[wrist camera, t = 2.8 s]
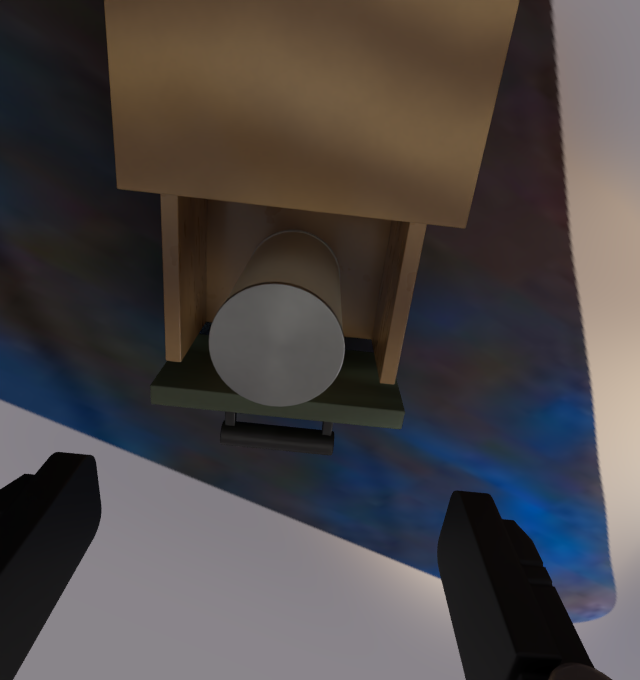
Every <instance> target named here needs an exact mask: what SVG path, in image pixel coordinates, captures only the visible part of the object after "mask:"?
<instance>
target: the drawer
mask: <svg viewBox="0 0 640 680" xmlns="http://www.w3.org/2000/svg"><path fill="white" fill-rule="evenodd" d="M160 197H161V227H162V257H163V287H164V317H165V347H166V361H167V362H166V363H165V365H164V366H163V368H162V369H161V371H160V372H159V374H158V375H157V376H156V378H155V379H154V381H153V382H152V384H151V385H150V390H151V403H152V404H158V405H168V406H178V407H187V408H197V409H207V410H217V411H225V421H224V422H223V424H222V428H221V434H220V443H221V444H222V445H232V446H242V447H252V448H262V449H272V450H282V451H292V452H302V453H312V454H322V455H332V453H333V447H334V432H333V431H332V427H333V422H334V423H344V424H354V425H363V426H373V427H383V428H393V429H401V428H402V423H403V418H404V414H405V411H404V407H403V403H402V399H401V395H400V391H399V387H398V383H397V380H396V374H397V369H398V365H399V360H400V355H401V350H402V345H403V340H404V335H405V330H406V325H407V320H408V315H409V310H410V305H411V300H412V295H413V290H414V285H415V280H416V275H417V270H418V265H419V260H420V255H421V251H422V246H423V241H424V236H425V231H426V226H427V224H421V223H412V222H403V221H394V220H386V219H377V218H368V217H359V216H351V215H342V214H333V213H324V212H316V211H307V210H298V209H289V208H281V207H272V206H263V205H254V204H245V203H237V202H228V201H219V200H210V199H202V198H193V197H184V196H175V195H167V194H160ZM284 230H301V231H306V232H309V233H311V234H313V235H316V236H317V237H319V238H320V239H322V240H323V241H324V242H325V243H326V244H327V245H328V246H329V247H330V248H331V249H332V251H333V252H334V254H335V256H336V258H337V261H338V263H339V268H340V294H341V311H342V328H343V334H344V336H345V337H354V338H364V339H371V340H372V345H373V350H374V353H372V352H362V351H353V350H345V354H344V360H343V364H342V367H341V369H340V372H339V373H338V375H337V377H336V379H335V380H334V381H333V383H332V384H331V385H330V386H329V387H328V388H327V389H326V390H325V391H324V392H322V393H321V394H320V395H318V396H317V397H315V398H313V399H311V400H309V401H307V402H304V403H301V404H297V405H292V406H283V407H278V406H268V405H262V404H259V403H255V402H253V401H250V400H248V399H246V398H244V397H242V396H240V395H239V394H238V393H236V392H235V391H233V390H232V389H231V388H230V387H229V386H228V385H227V384H226V383H225V382H224V381H223V380H222V379H221V377H220V376H219V374H218V373H217V371H216V369H215V367H214V365H213V362H212V360H211V356H210V352H209V335H203V334H199V332H200V331H201V329H202V328H203V326H204V324H205V323H206V322H213V319H214V317H215V316H216V314H217V312H218V310H219V309H220V307H221V306H222V305H223V304H224V302H225V301H226V299H227V298H228V296H229V294H230V293H231V291H232V289H233V288H234V286H235V284H236V283H237V281H238V279H239V277H240V276H241V274H242V272H243V271H244V269H245V267H246V266H247V264H248V262H249V261H250V258H251V256H252V254H253V252H254V250H255V249H256V247H257V246H258V245H259V244H260V243H261V242H262V241H263V240H264V239H266V238H267V237H268V236H270V235H272V234H274V233H277V232H280V231H284ZM237 413H246V414H256V415H266V416H275V417H285V418H295V419H305V420H315V421H323V425H322V430H316V429H306V428H296V427H287V426H277V425H267V424H257V423H247V422H237V421H236V415H237Z"/></svg>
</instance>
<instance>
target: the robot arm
mask: <svg viewBox="0 0 640 680" xmlns="http://www.w3.org/2000/svg"><path fill="white" fill-rule="evenodd" d="M100 518H101V500H100V492H99V484H98V475H97V467H96V461H95V458H94V457H93V456H92V455H83V454H74V453H63V452H56V453H54V454H53V455H51V456H50V457H49V458H48V459H47V461H46V462H45V463H44V464H43V466H42V467H41V468H40V469H39V470H38V472H37V473H36V474H35V475H32V474H24V475H22V476H21V477H19V478H17V479H16V480H14V481H13V482H11V483H10V484H8V485H7V486H5V487H3V488H2V489H0V680H13V679H14V677H15V675H16V674H17V672H18V670H19V668H20V666H21V665H22V663H23V661H24V659H25V658H26V656H27V654H28V653H29V651H30V649H31V647H32V646H33V644H34V642H35V640H36V638H37V637H38V635H39V633H40V631H41V630H42V628H43V626H44V624H45V623H46V621H47V619H48V617H49V616H50V614H51V612H52V610H53V608H54V607H55V605H56V603H57V601H58V600H59V598H60V596H61V595H62V593H63V591H64V589H65V588H66V586H67V584H68V582H69V580H70V579H71V577H72V575H73V573H74V572H75V570H76V568H77V566H78V565H79V563H80V561H81V559H82V558H83V556H84V554H85V552H86V551H87V549H88V547H89V545H90V544H91V542H92V540H93V538H94V536H95V534H96V532H97V529H98V526H99V522H100ZM437 557H438V567H439V572H440V576H441V580H442V584H443V588H444V592H445V595H446V600H447V604H448V608H449V612H450V616H451V621H452V625H453V628H454V633H455V637H456V641H457V645H458V649H459V653H460V657H461V661H462V665H463V669H464V673H465V678H466V680H612V679H610V678H609V677H608V676H606V675H605V674H603V673H602V672H600V671H598V670H597V669H595V668H594V666H593V664H592V662H591V661H590V659H589V656H588V654H587V652H586V650H585V648H584V646H583V644H582V642H581V640H580V638H579V636H578V634H577V632H576V630H575V628H574V626H573V623H572V621H571V619H570V617H569V615H568V613H567V611H566V609H565V607H564V605H563V603H562V601H561V599H560V597H559V595H558V593H557V591H556V588H555V587H553V586H552V580H551V578H550V576H549V574H548V572H547V570H546V568H545V567H543V562H542V560H541V558H540V556H539V553H538V551H537V549H536V547H535V545H534V543H533V541H532V540H531V539H530V538H529V536H528V535H527V534H526V533H525V532H524V531H523V530H522V529H521V528H520V527H519V526H518V525H517V524H516V522H515V521H514V520H504V519H501V516H500V514H499V512H498V509H497V507H496V505H495V503H494V500H493V498H492V497H491V495H489V494H487V493H476V492H466V491H454V492H453V493H452V495H451V498H450V502H449V505H448V509H447V512H446V516H445V519H444V523H443V526H442V530H441V533H440V536H439V541H438V550H437Z"/></svg>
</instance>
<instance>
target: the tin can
mask: <svg viewBox="0 0 640 680" xmlns="http://www.w3.org/2000/svg"><path fill="white" fill-rule="evenodd" d="M209 352H210V356H211V360H212V362H213V365H214V367H215V369H216V371H217V373H218V374H219V376H220V377H221V379H222V380H223V381H224V382H225V383H226V384H227V385H228V386H229V387H230V388H231V389H232V390H233V391H235V392H236V393H238V394H239V395H240V396H242V397H244V398H246V399H248V400H250V401H253V402H255V403H259V404H262V405H268V406H278V407H283V406H292V405H297V404H301V403H304V402H307V401H309V400H311V399H313V398H315V397H317V396H318V395H320V394H321V393H322V392H324V391H325V390H326V389H327V388H328V387H329V386H330V385H331V384H332V383H333V381H334V380H335V379H336V377H337V375H338V373H339V372H340V369H341V367H342V364H343V360H344V354H345V342H344V334H343V328H342V311H341V294H340V268H339V263H338V261H337V258H336V256H335V254H334V252H333V251H332V249H331V248H330V247H329V246H328V245H327V244H326V243H325V242H324V241H323V240H322V239H320V238H319V237H317V236H316V235H313V234H311V233H309V232H306V231H301V230H284V231H280V232H277V233H274V234H272V235H270V236H268V237H267V238H266V239H264V240H263V241H262V242H261V243H260V244H259V245H258V246H257V247H256V249H255V250H254V252H253V254H252V256H251V258H250V261H249V262H248V264H247V266H246V267H245V269H244V271H243V272H242V274H241V276H240V277H239V279H238V281H237V283H236V284H235V286H234V288H233V289H232V291H231V293H230V294H229V296H228V298H227V299H226V301H225V302H224V304H223V305H222V306H221V307H220V309H219V310H218V312H217V314H216V316H215V317H214V319H213V322H212V324H211V328H210V332H209Z"/></svg>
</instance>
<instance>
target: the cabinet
mask: <svg viewBox="0 0 640 680" xmlns="http://www.w3.org/2000/svg"><path fill="white" fill-rule="evenodd" d="M518 4H519V0H104V8H105V23H106V37H107V51H108V65H109V79H110V94H111V108H112V122H113V136H114V150H115V165H116V179H117V188H118V189H123V190H132V191H140V192H149V193H158V194H167V195H175V196H184V197H193V198H202V199H210V200H219V201H228V202H237V203H245V204H254V205H263V206H272V207H281V208H289V209H298V210H307V211H316V212H324V213H333V214H342V215H351V216H359V217H368V218H377V219H386V220H394V221H403V222H412V223H421V224H429V225H438V226H447V227H456V228H466V224H467V220H468V215H469V211H470V207H471V203H472V198H473V194H474V190H475V186H476V182H477V177H478V173H479V169H480V165H481V160H482V156H483V152H484V148H485V144H486V139H487V135H488V131H489V127H490V122H491V118H492V114H493V110H494V106H495V101H496V97H497V93H498V89H499V84H500V80H501V76H502V72H503V68H504V63H505V59H506V55H507V51H508V46H509V42H510V38H511V34H512V30H513V25H514V21H515V17H516V13H517V9H518Z"/></svg>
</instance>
